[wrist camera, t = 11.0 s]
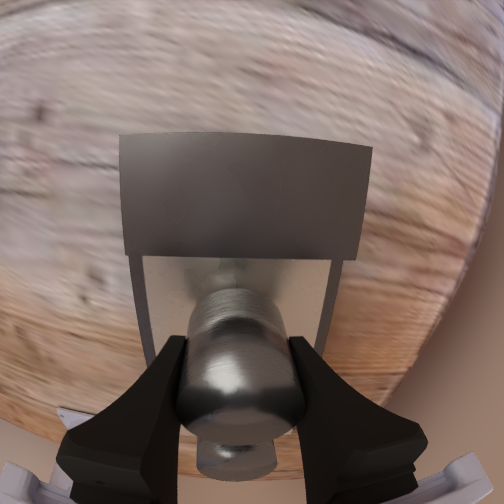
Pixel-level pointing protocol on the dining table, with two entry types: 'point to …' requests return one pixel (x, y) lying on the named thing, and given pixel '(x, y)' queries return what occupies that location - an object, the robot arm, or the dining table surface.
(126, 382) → the dining table surface
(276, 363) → the ball
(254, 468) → the cylinder
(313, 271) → the scale
